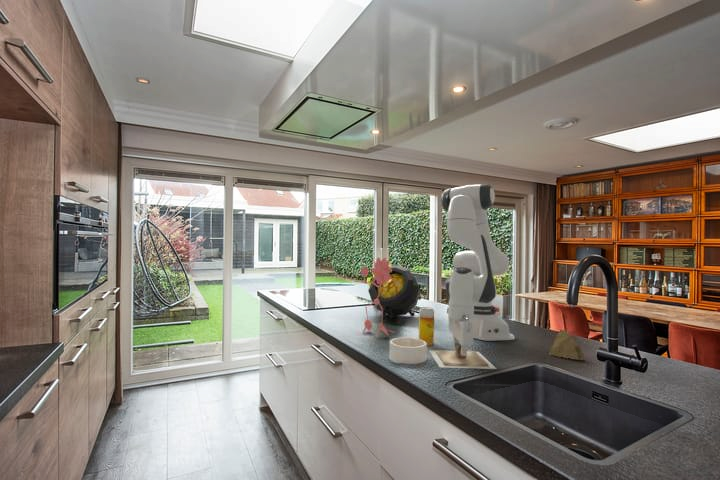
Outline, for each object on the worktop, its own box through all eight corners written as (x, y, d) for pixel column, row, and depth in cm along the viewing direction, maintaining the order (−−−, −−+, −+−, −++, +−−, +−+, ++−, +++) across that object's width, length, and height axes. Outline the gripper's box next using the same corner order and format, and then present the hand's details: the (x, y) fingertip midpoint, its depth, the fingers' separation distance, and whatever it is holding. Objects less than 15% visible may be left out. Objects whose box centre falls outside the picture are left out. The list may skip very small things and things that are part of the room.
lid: (475, 353, 140) (475, 340, 140) (488, 366, 125) (488, 352, 125) (435, 352, 140) (435, 339, 140) (444, 365, 125) (444, 351, 125)
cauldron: (435, 309, 207) (424, 286, 190) (393, 335, 207) (378, 314, 191) (413, 276, 227) (400, 253, 211) (374, 300, 228) (359, 279, 211)
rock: (592, 354, 136) (569, 343, 146) (585, 337, 134) (562, 327, 143) (572, 372, 134) (550, 360, 144) (564, 356, 132) (542, 345, 141)
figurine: (388, 342, 154) (391, 258, 155) (350, 330, 174) (353, 256, 175) (413, 337, 164) (416, 259, 164) (374, 326, 184) (377, 256, 184)
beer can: (433, 346, 149) (434, 309, 149) (418, 345, 150) (419, 308, 150) (433, 343, 155) (434, 307, 155) (418, 341, 156) (419, 306, 156)
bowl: (422, 354, 139) (423, 338, 139) (428, 365, 126) (429, 347, 126) (388, 353, 139) (388, 337, 139) (391, 364, 126) (391, 346, 126)
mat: (478, 353, 142) (478, 351, 142) (496, 370, 123) (496, 368, 123) (429, 351, 142) (429, 350, 142) (439, 368, 123) (439, 367, 123)
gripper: (478, 319, 122) (477, 360, 122) (462, 308, 143) (461, 344, 143) (459, 318, 122) (458, 360, 122) (446, 307, 143) (445, 343, 143)
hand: (460, 351), depth 133 cm, fingers open, 8 cm apart
